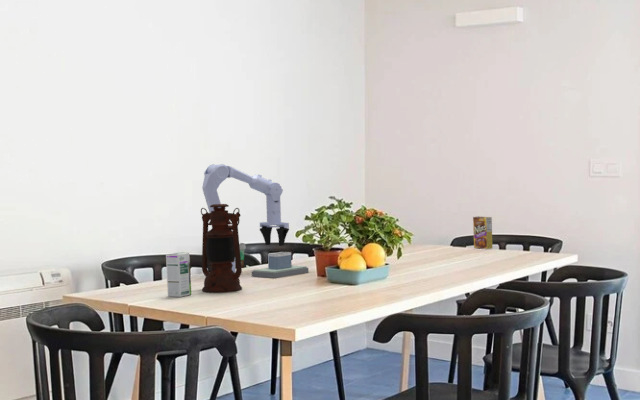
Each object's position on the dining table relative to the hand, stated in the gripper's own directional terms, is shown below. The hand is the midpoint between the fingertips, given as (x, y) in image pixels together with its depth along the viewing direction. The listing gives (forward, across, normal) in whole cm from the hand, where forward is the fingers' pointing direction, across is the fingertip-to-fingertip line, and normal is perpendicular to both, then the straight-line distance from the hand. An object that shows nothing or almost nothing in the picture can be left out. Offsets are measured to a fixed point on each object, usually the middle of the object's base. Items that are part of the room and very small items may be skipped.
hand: (274, 245), depth 367 cm
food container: (+11, +22, 0) cm, 24 cm away
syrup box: (+11, -19, +68) cm, 71 cm away
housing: (+8, -11, +9) cm, 16 cm away
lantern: (+11, -22, +51) cm, 57 cm away
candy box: (+11, -31, -114) cm, 119 cm away
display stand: (+10, -11, +9) cm, 18 cm away
